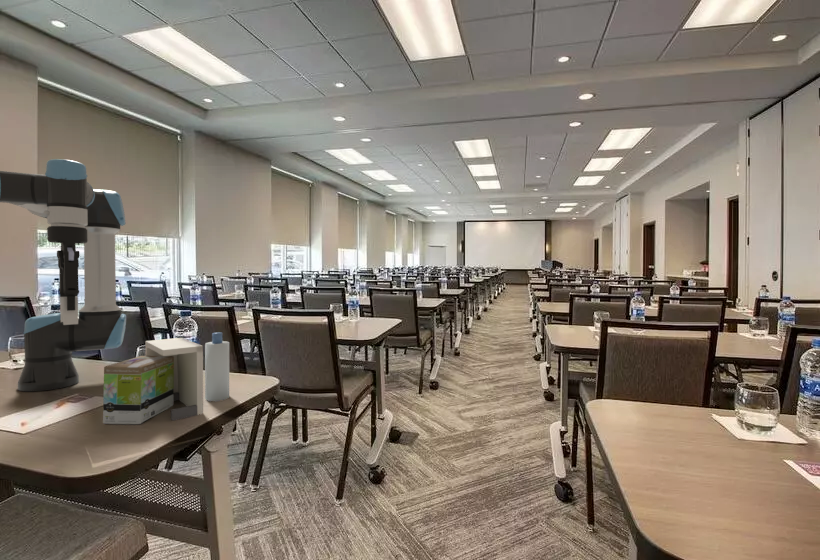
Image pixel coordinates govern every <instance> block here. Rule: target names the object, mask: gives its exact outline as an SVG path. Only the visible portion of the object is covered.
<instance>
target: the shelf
mask: <svg viewBox="0 0 820 560" xmlns="http://www.w3.org/2000/svg"><path fill="white" fill-rule="evenodd" d="M145 356H174V391H173V393H175V392H178V393H179V400H178V401H180V403H183V404H184V405H185V407H186V406H191V405H197V415H196V416H199V414H200V415H203V414H204V369H203V368H204V345H203V344H202V345H201V344H199V343H196V342H194V341H192V340H189V339H186V338H184V337H176V338H175V337H173V338H164V339H153V340H145ZM202 413H203V414H202Z"/></svg>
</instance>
